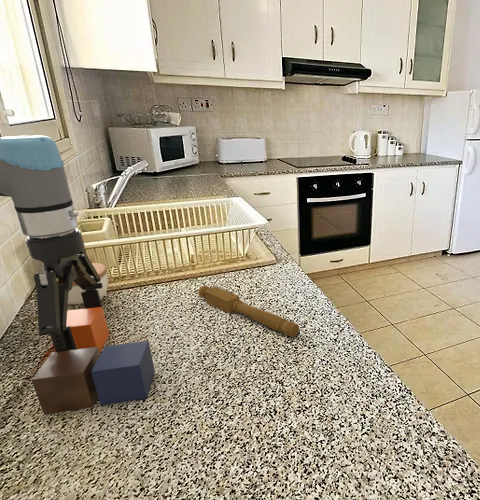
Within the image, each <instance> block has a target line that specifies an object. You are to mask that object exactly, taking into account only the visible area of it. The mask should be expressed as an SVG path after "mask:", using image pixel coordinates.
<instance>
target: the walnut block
mask: <svg viewBox="0 0 480 500" xmlns="http://www.w3.org/2000/svg"><path fill="white" fill-rule="evenodd" d="M100 352H101V351H100ZM100 352H99V348H98V347H93V348H85V349H77V350H69V351H60V352H55V351H53V352H52V351H51V353H50V355H49V356H48V357H47V358H46V360H45V361H44V363H43V364H42V365H41V366H40V368H39V369H38V370H37V372H36V373H35V374H34V376H33V377H32V378H31V383H32V386H33V388H34V391H35V394H36V396H37V397H36V398H37V400H38V402H39V405H40V408H41V411H42V413H43V415H49V414H56V413H62V412H69V411H76V410H81V409H88V408H93V407H94V406H95V404H96V402H97V399H99V398H98V394H97V391H96V387H95V384H94V380H93V376H92V373H91V371H92V369H93V367H94V366H95V364H96V362H97V360H98V358H99V357H100V355H101V353H100Z"/></svg>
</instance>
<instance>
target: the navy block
mask: <svg viewBox="0 0 480 500" xmlns="http://www.w3.org/2000/svg"><path fill="white" fill-rule="evenodd" d="M155 369H156V368H155V365H154V360H153V355H152V350H151V346H150V340H142V341H135V342H128V343H120V344H110V345H105V346H104V347H103V348H102V350H101V353H100V357H99V358H98V360H97V362H96V364H95V366H94V367H93V369H92V371H91V373H92V376H93V380H94V384H95V387H96V391H97V394H98V398H97V399H98V401H99V404H100V406H106V405H113V404H118V403H125V402H131V401H137V400H144V399H148V396H149V392H150V390H151V386H152V382H153V379H154V377H155V373H156V370H155Z"/></svg>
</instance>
